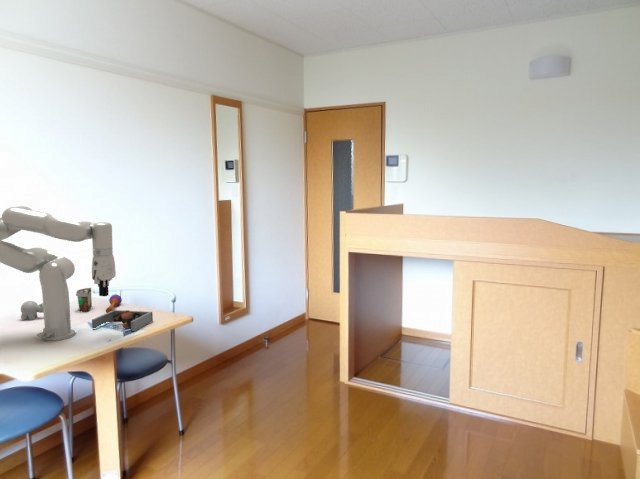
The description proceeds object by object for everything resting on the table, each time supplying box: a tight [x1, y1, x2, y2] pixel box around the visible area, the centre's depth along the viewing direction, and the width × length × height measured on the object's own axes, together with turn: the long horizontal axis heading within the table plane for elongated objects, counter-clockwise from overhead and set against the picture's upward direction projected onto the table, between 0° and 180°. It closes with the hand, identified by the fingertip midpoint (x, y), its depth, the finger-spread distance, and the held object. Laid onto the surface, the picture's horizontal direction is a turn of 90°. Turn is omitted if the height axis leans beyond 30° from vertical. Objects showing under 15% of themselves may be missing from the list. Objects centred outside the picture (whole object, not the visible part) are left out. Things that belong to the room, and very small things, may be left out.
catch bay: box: [91, 309, 154, 332], centre depth 213 cm, size 16×19×4 cm
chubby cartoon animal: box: [20, 300, 44, 321], centre depth 224 cm, size 7×12×8 cm, turn 101°
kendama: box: [105, 294, 123, 314], centre depth 242 cm, size 6×6×20 cm
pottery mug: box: [112, 309, 142, 329], centre depth 213 cm, size 12×10×8 cm
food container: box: [75, 287, 93, 313], centre depth 239 cm, size 12×6×10 cm, turn 17°
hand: (103, 295), depth 199 cm, fingers closed
